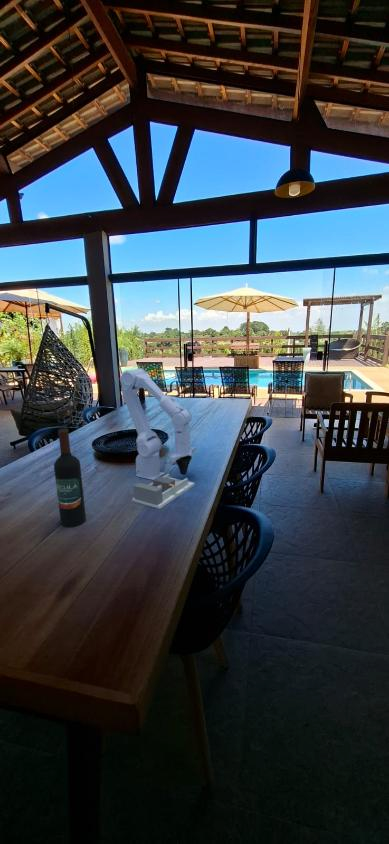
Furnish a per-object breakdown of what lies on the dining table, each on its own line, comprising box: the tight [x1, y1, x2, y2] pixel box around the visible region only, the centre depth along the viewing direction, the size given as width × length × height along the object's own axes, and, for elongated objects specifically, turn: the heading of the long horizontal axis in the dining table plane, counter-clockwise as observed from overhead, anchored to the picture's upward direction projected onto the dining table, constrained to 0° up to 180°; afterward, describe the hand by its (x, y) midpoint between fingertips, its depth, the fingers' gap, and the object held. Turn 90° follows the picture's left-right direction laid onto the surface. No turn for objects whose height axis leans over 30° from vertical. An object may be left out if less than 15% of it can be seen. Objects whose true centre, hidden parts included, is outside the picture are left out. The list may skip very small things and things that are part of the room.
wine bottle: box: [53, 428, 87, 528], centre depth 112 cm, size 8×8×30 cm
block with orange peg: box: [152, 475, 175, 492], centre depth 132 cm, size 9×7×4 cm
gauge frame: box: [131, 473, 195, 509], centre depth 134 cm, size 12×22×6 cm, turn 148°
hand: (183, 473), depth 145 cm, fingers closed
